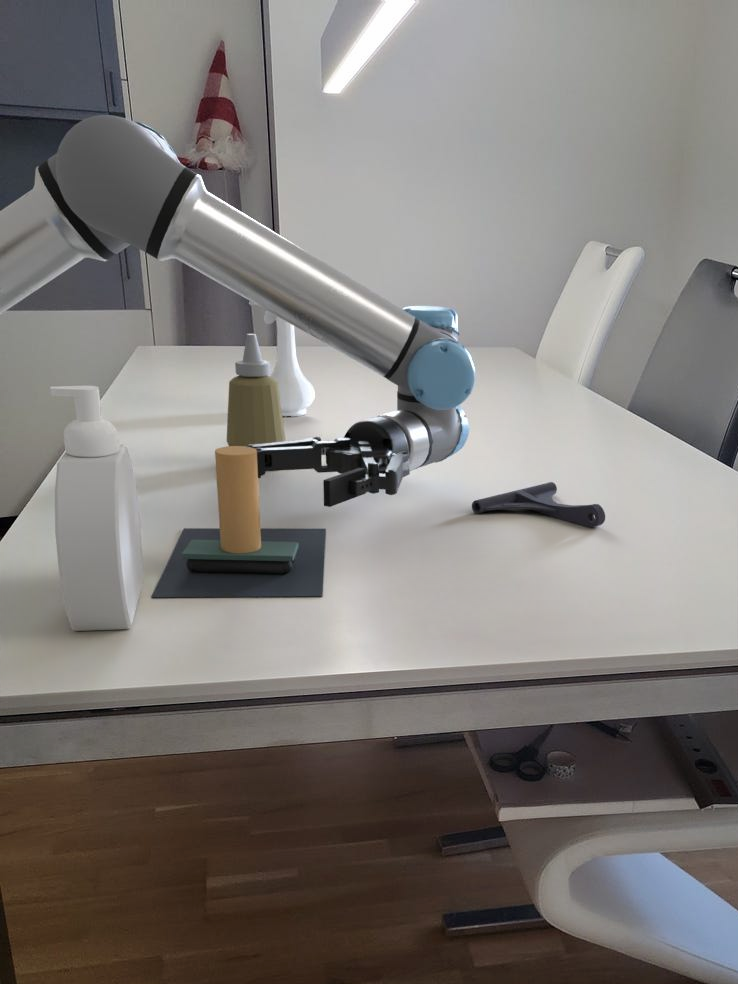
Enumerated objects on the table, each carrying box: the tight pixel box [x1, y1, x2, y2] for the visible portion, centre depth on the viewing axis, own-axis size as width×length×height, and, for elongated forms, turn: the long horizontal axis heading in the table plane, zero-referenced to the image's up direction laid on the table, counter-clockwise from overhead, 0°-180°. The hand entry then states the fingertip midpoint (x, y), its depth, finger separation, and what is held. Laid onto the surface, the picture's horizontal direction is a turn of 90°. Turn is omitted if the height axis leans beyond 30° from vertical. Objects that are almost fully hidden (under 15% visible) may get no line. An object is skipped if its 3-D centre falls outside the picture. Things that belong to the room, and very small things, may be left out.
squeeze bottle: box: [226, 333, 287, 446], centre depth 142 cm, size 8×8×18 cm
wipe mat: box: [151, 527, 327, 599], centre depth 109 cm, size 16×22×1 cm
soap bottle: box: [49, 385, 144, 632], centre depth 91 cm, size 16×5×20 cm, turn 12°
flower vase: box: [248, 300, 316, 417], centre depth 176 cm, size 13×18×25 cm
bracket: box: [471, 481, 606, 528], centre depth 128 cm, size 14×15×3 cm
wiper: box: [182, 445, 298, 574], centre depth 104 cm, size 11×5×12 cm, turn 93°
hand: (273, 483), depth 108 cm, fingers open, 13 cm apart
